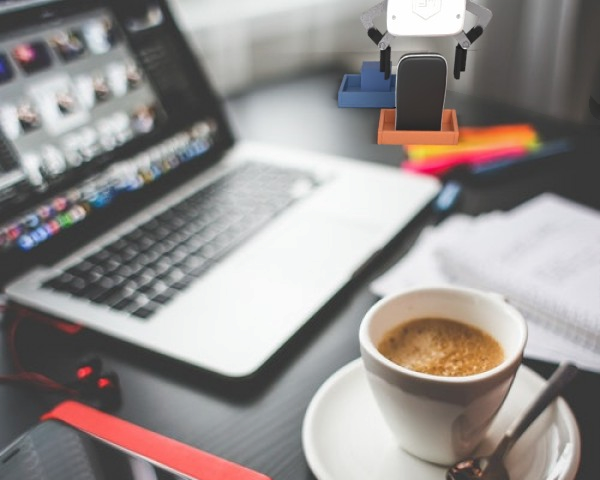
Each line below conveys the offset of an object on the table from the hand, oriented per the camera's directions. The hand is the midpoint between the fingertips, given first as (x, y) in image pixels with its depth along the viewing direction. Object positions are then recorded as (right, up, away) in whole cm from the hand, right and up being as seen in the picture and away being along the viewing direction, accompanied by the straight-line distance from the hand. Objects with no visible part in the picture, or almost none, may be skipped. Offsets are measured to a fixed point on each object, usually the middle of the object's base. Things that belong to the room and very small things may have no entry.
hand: (421, 77), depth 88 cm
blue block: (-4, +4, +21) cm, 22 cm away
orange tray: (0, -7, +5) cm, 9 cm away
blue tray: (-4, +4, +21) cm, 22 cm away
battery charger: (0, -7, +5) cm, 8 cm away
